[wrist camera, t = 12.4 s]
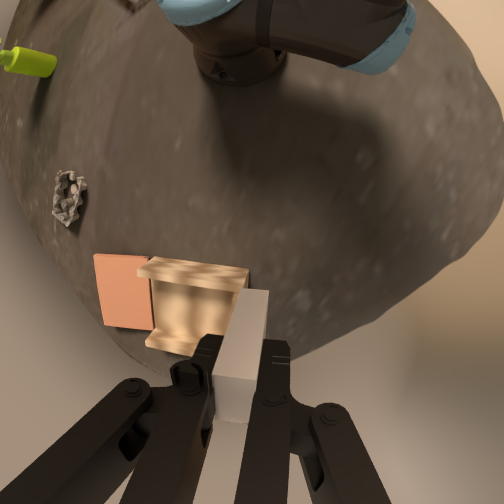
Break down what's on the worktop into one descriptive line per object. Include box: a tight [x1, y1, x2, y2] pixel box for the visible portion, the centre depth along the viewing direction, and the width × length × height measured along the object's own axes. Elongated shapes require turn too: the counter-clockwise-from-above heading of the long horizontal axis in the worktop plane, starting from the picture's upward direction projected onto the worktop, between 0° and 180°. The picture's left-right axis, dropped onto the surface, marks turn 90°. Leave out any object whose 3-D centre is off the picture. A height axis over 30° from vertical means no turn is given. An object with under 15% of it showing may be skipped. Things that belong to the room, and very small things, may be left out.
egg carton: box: [52, 170, 87, 227], centre depth 47 cm, size 11×8×4 cm
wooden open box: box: [137, 257, 249, 357], centre depth 47 cm, size 18×16×9 cm
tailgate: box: [94, 254, 155, 330], centre depth 51 cm, size 1×16×12 cm
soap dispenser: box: [0, 38, 57, 78], centre depth 30 cm, size 6×7×20 cm
